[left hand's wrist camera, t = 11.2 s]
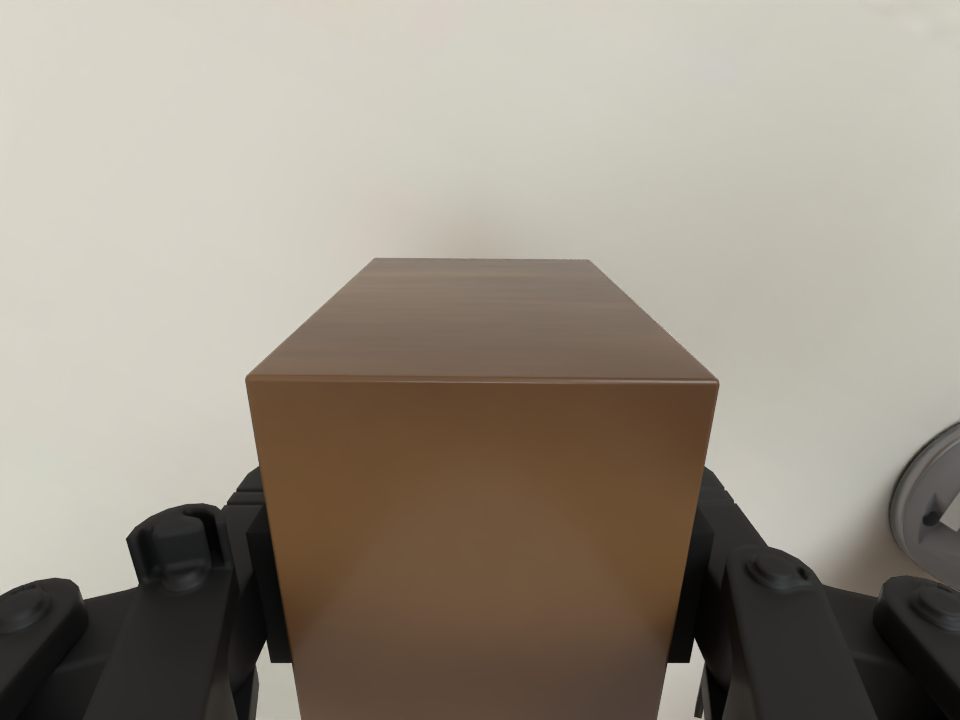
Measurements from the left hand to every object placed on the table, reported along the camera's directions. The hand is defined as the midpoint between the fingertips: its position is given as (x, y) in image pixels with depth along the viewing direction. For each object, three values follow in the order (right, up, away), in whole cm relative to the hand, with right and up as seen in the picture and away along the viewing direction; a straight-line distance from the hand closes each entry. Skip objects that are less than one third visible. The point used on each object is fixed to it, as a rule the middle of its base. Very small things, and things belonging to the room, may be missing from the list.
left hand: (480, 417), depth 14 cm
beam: (0, -23, +9) cm, 24 cm away
